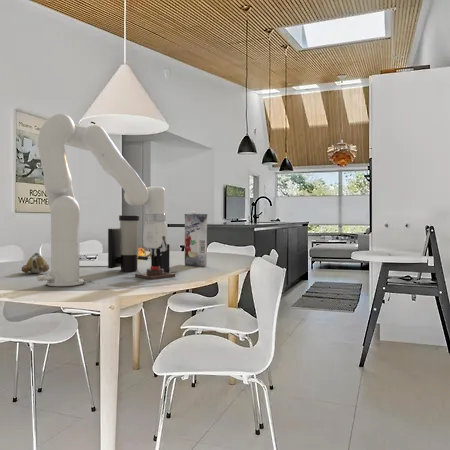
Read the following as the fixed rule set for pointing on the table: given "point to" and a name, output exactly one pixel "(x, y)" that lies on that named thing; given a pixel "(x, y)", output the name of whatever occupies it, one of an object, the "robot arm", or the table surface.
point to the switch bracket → (165, 260)
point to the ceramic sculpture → (36, 264)
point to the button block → (155, 274)
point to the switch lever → (144, 257)
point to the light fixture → (124, 244)
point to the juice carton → (195, 239)
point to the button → (155, 268)
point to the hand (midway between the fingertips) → (155, 265)
